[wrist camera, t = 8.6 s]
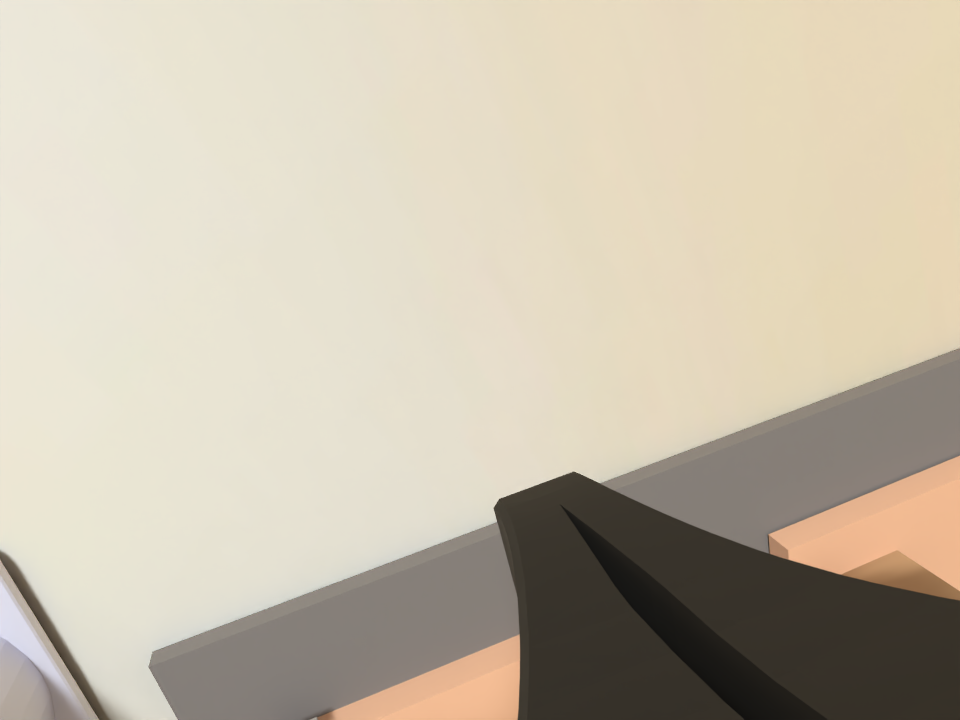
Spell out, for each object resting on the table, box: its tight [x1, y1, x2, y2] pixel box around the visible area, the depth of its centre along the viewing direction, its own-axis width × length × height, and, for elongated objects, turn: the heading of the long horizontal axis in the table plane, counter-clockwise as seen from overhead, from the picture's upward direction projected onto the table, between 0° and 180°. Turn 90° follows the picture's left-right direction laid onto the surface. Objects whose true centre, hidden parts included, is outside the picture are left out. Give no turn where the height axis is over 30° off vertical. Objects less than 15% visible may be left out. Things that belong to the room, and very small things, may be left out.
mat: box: [149, 349, 960, 720], centre depth 24 cm, size 30×18×1 cm, turn 104°
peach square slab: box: [768, 456, 960, 600], centre depth 24 cm, size 10×10×4 cm
